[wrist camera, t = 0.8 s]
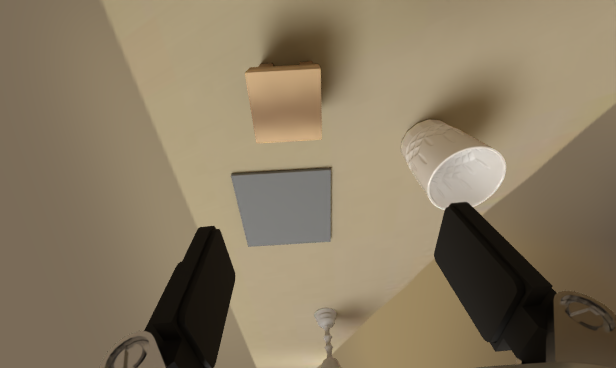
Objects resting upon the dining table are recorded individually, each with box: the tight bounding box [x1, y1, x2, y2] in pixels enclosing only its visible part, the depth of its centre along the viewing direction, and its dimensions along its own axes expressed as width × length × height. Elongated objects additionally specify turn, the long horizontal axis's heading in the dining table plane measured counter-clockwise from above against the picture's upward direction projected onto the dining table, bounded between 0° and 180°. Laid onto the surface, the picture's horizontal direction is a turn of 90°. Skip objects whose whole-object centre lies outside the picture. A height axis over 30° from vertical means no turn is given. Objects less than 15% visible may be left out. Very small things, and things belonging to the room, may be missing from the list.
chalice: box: [314, 308, 341, 368], centre depth 49 cm, size 7×7×18 cm
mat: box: [231, 168, 331, 247], centre depth 40 cm, size 14×14×1 cm
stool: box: [245, 61, 322, 143], centre depth 27 cm, size 6×6×8 cm
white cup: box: [401, 119, 506, 210], centre depth 31 cm, size 8×8×10 cm
